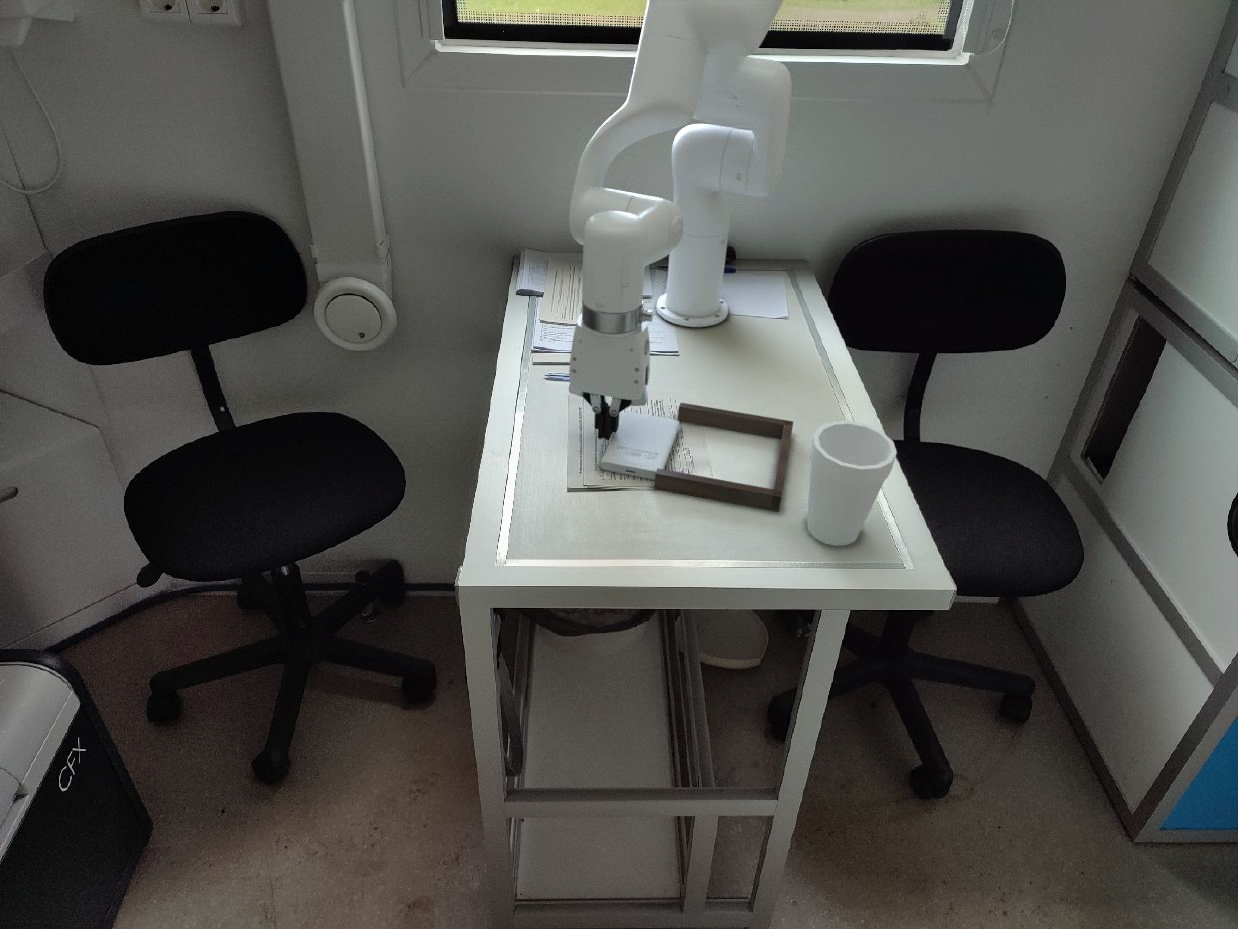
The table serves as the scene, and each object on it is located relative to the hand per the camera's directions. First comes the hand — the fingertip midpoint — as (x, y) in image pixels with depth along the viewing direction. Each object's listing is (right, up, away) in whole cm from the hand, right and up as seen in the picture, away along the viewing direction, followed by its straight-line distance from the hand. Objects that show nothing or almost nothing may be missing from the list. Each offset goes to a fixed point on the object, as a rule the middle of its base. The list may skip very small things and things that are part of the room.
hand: (606, 433), depth 118 cm
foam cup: (+28, -12, -12) cm, 33 cm away
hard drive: (+5, -2, 0) cm, 5 cm away
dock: (+16, -4, -1) cm, 16 cm away
